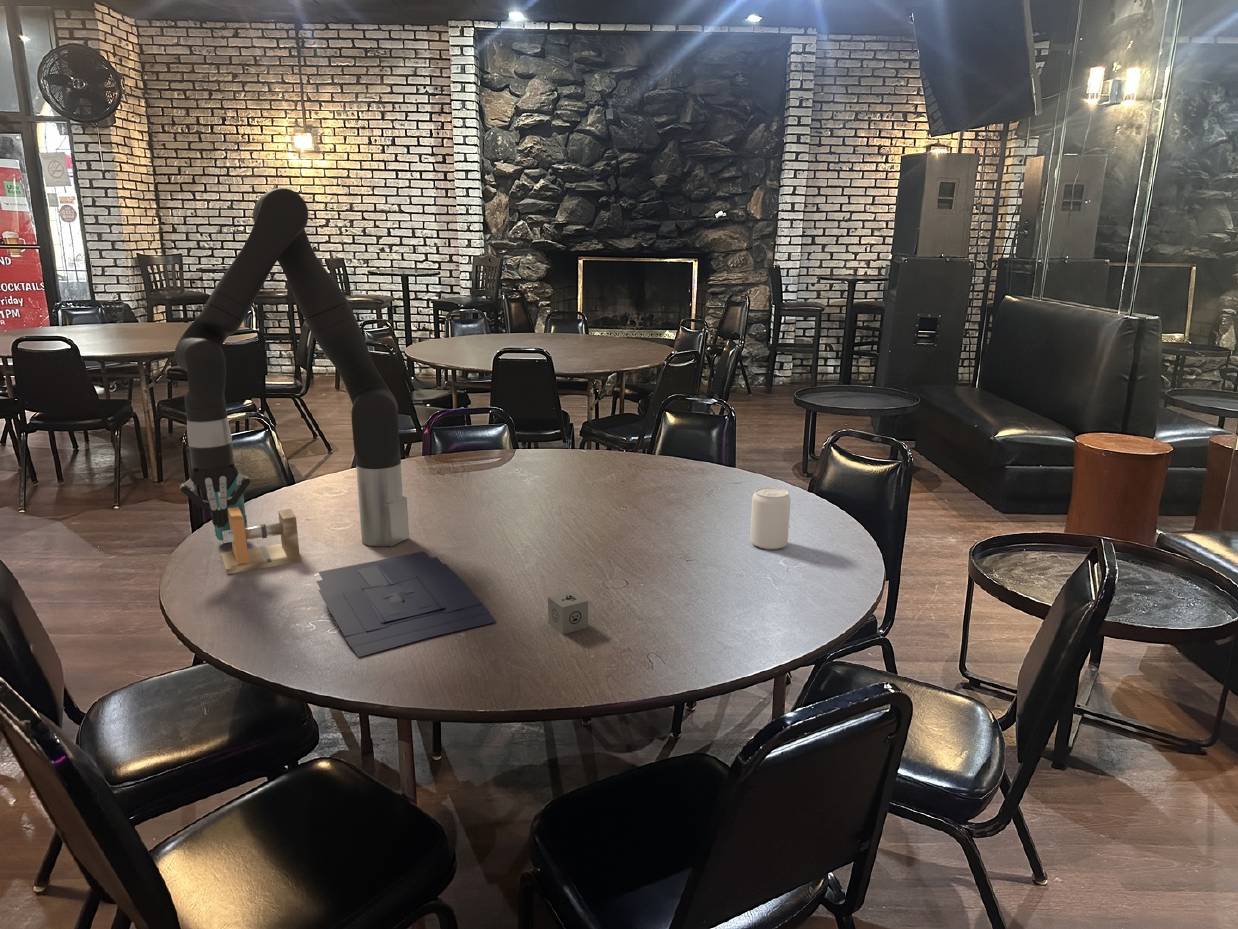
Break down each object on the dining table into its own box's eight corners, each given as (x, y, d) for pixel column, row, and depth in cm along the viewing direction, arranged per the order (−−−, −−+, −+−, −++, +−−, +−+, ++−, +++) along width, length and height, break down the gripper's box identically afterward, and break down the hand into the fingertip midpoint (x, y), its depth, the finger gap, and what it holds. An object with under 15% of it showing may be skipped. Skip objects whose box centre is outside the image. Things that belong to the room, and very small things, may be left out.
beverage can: (791, 541, 185) (794, 489, 182) (782, 553, 178) (785, 499, 175) (755, 536, 188) (758, 484, 185) (745, 547, 181) (748, 494, 178)
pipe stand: (226, 574, 164) (221, 530, 162) (221, 557, 173) (216, 516, 170) (301, 561, 171) (297, 519, 169) (293, 546, 179) (289, 506, 177)
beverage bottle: (236, 549, 178) (226, 457, 172) (209, 546, 179) (197, 455, 174) (255, 538, 184) (246, 450, 179) (228, 536, 185) (218, 448, 180)
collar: (237, 564, 165) (232, 520, 163) (232, 549, 173) (227, 508, 171) (248, 562, 166) (243, 519, 164) (243, 548, 174) (238, 506, 172)
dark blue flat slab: (433, 561, 169) (433, 545, 167) (497, 635, 146) (498, 617, 144) (308, 587, 156) (307, 569, 155) (357, 672, 133) (356, 652, 131)
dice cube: (588, 627, 143) (588, 600, 142) (562, 635, 141) (562, 607, 139) (573, 617, 147) (573, 590, 146) (548, 623, 145) (547, 597, 143)
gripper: (244, 433, 168) (254, 516, 173) (170, 441, 162) (182, 526, 166) (249, 441, 162) (259, 526, 166) (172, 449, 156) (184, 537, 160)
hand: (220, 526), depth 166 cm, fingers closed
